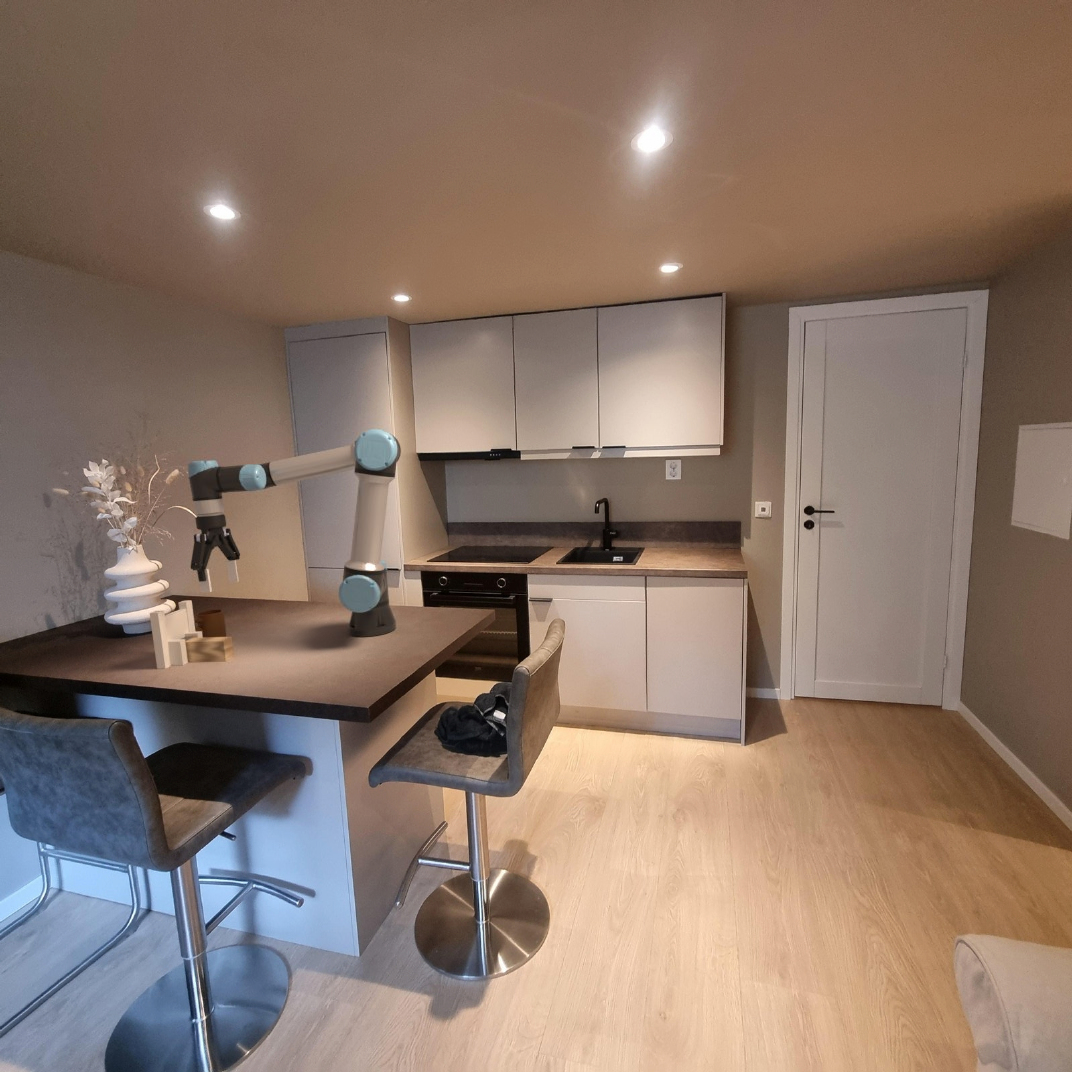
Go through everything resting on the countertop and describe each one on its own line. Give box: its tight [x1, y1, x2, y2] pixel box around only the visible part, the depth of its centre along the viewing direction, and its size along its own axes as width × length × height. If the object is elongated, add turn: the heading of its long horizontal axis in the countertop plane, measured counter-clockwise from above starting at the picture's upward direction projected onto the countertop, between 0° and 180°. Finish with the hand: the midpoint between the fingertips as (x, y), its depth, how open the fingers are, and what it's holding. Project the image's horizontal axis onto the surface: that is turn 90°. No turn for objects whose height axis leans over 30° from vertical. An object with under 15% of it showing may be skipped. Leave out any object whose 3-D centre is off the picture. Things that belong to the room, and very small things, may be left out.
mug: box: [194, 608, 227, 637], centre depth 180 cm, size 12×8×9 cm, turn 159°
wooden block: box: [182, 636, 235, 663], centre depth 164 cm, size 14×4×6 cm, turn 87°
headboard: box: [149, 599, 203, 670], centre depth 164 cm, size 6×14×16 cm, turn 177°
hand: (220, 586), depth 165 cm, fingers open, 13 cm apart
